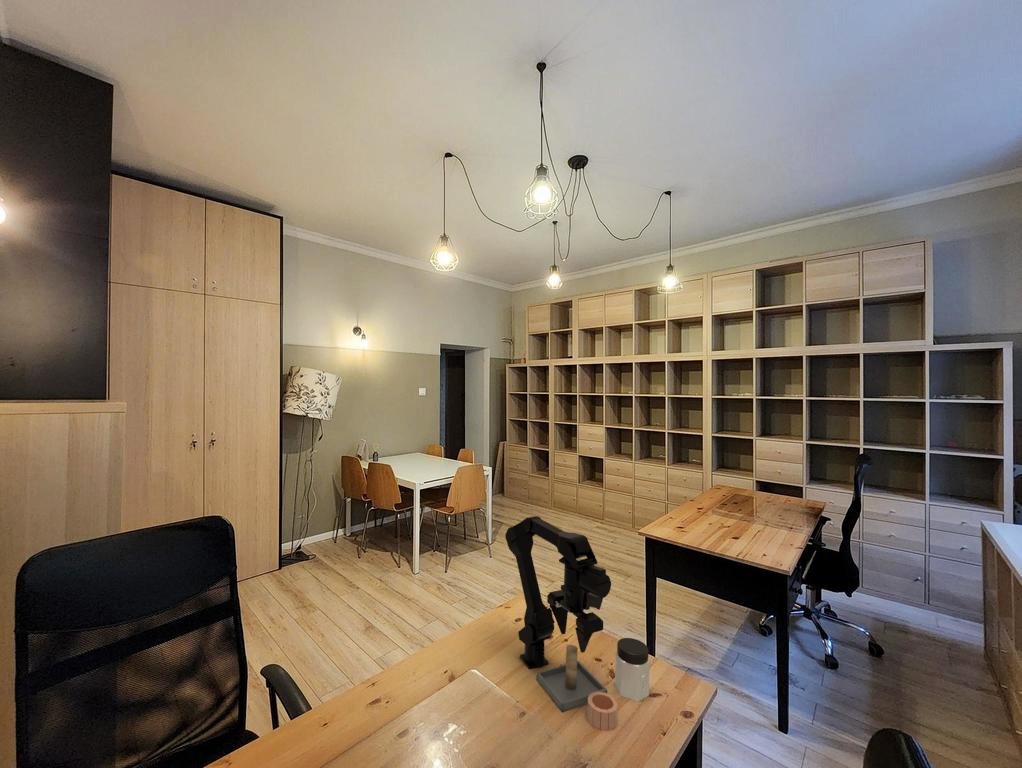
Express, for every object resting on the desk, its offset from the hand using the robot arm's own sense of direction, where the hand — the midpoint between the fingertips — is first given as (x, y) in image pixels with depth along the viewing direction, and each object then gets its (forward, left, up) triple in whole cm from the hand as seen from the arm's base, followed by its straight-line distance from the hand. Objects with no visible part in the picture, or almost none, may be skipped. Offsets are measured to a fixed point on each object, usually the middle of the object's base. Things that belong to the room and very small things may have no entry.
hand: (572, 642), depth 110 cm
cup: (+12, +1, -13) cm, 17 cm away
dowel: (0, 0, -12) cm, 12 cm away
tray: (0, 0, -13) cm, 13 cm away
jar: (+6, +15, -13) cm, 21 cm away
